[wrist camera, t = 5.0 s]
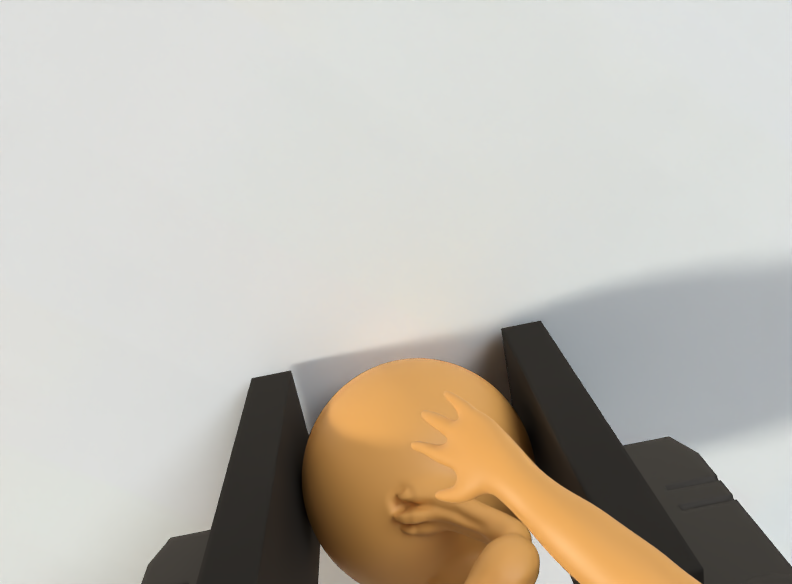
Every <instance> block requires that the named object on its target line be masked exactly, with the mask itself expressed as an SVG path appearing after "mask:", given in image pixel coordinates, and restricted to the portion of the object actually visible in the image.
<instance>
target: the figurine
mask: <svg viewBox="0 0 792 584" xmlns="http://www.w3.org/2000/svg"><path fill="white" fill-rule="evenodd" d="M302 491H303V499H304V504H305V509H306V512H307V516H308V519H309V522H310V524H311V527H312V529H313V531H314V533H315V535H316V537H317V539H318V541H319V543H320V544H321V546H322V547H323V549H324V550H325V552H326V553H327V554H328V556H329V557H330V558H331V559H332V560H333V562H334V563H335V564H336V565H337V566H338V567H339V568H340V569H341V570H342V571H344V572H345V573H346V574H347V575H348V576H350V577H351V578H352V579H354V580H355V581H357V582H358V583H360V584H535V582H536V580H537V577H538V574H539V566H540V560H539V554H538V551H537V549H536V548H535V546H534V545H533V544H532V539H531V534H530V532H531V533H532V534H533V535H534V536H535V538H536V539H537V540H538V541H539V542H540V543H541V545H542V546H543V547H544V548H545V549H546V550H547V551H548V552H549V554H550V555H551V556H552V557H553V558H554V559H555V560H556V561H557V562H558V563H559V564H560V565H561V566H562V567H563V568H564V569H565V570H566V571H567V572H568V573H569V574H570V575H571V576H572V577H574V578H575V579H576V580H577V581H578V582H579V583H580V584H702V583H700V582H699V581H697V580H696V579H695V578H693V577H692V576H691V575H689V574H688V573H687V572H685V571H684V570H683V569H681V568H680V567H679V566H678V565H676V564H675V563H674V562H673V561H672V560H670V559H669V558H668V557H667V556H666V555H664V554H663V553H662V552H660V551H659V550H658V549H656V548H655V547H654V546H652V545H651V544H649V543H648V542H647V541H645V540H644V539H642V538H641V537H639V536H638V535H637V534H635V533H634V532H632V531H631V530H629V529H628V528H626V527H625V526H624V525H622V524H621V523H619V522H618V521H617V520H615V519H614V518H612V517H611V516H610V515H608V514H607V513H605V512H604V511H602V510H601V509H600V508H598V507H596V506H595V505H593V504H592V503H590V502H588V501H587V500H585V499H583V498H581V497H579V496H578V495H576V494H574V493H572V492H571V491H569V490H567V489H566V488H564V487H563V486H561V485H560V484H558V483H557V482H555V481H554V480H553V479H551V478H550V477H549V476H547V475H546V474H545V473H544V472H543V471H542V470H540V469H539V468H538V467H537V466H536V465H535V459H534V454H533V449H532V446H531V442H530V439H529V437H528V434H527V432H526V429H525V427H524V425H523V423H522V421H521V419H520V418H519V416H518V414H517V413H516V411H515V410H514V408H513V407H512V406H511V404H510V403H509V402H508V401H507V399H506V398H505V397H504V396H503V395H502V394H501V393H500V392H499V391H498V390H497V389H496V388H495V387H494V386H492V385H491V384H490V383H489V382H487V381H486V380H485V379H483V378H482V377H480V376H479V375H477V374H475V373H473V372H471V371H470V370H467V369H465V368H463V367H461V366H458V365H455V364H452V363H449V362H445V361H440V360H435V359H425V358H412V359H402V360H396V361H391V362H388V363H384V364H381V365H378V366H376V367H373V368H371V369H369V370H367V371H365V372H363V373H361V374H360V375H358V376H357V377H355V378H354V379H352V380H351V381H349V382H348V383H347V384H346V385H344V386H343V387H342V388H341V389H340V390H339V391H338V392H337V393H336V394H335V395H334V396H333V397H332V398H331V399H330V401H329V402H328V403H327V404H326V406H325V407H324V409H323V410H322V412H321V413H320V415H319V416H318V418H317V420H316V422H315V424H314V426H313V428H312V430H311V433H310V435H309V438H308V441H307V445H306V448H305V453H304V458H303V466H302ZM528 529H529V530H528ZM529 531H530V532H529Z"/></svg>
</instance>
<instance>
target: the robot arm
mask: <svg viewBox="0 0 792 584" xmlns="http://www.w3.org/2000/svg"><path fill="white" fill-rule="evenodd" d="M501 331H502V337H503V344H504V351H505V358H506V364H507V371H508V378H509V385H510V391H511V398H512V405H513V408H514V410H515V411H516V413H517V414H518V416H519V418H520V419H521V421H522V423H523V425H524V427H525V429H526V432H527V434H528V437H529V439H530V442H531V446H532V449H533V454H534V459H535V465H536V466H537V467H538V468H539V469H540V470H542V471H543V472H544V473H545V474H546V475H547V476H549V477H550V478H551V479H553V480H554V481H555V482H557V483H558V484H560V485H561V486H563V487H564V488H566V489H567V490H569V491H571V492H572V493H574V494H576V495H578V496H579V497H581V498H583V499H585V500H587V501H588V502H590V503H592V504H593V505H595V506H596V507H598V508H600V509H601V510H602V511H604V512H605V513H607V514H608V515H610V516H611V517H612V518H614V519H615V520H617V521H618V522H619V523H621V524H622V525H624V526H625V527H626V528H628V529H629V530H631V531H632V532H634V533H635V534H637V535H638V536H639V537H641V538H642V539H644V540H645V541H647V542H648V543H649V544H651V545H652V546H654V547H655V548H656V549H658V550H659V551H660V552H662V553H663V554H664V555H666V556H667V557H668V558H669V559H670V560H672V561H673V562H674V563H675V564H676V565H678V566H679V567H680V568H681V569H683V570H684V571H685V572H687V573H688V574H689V575H691V576H692V577H693V578H695V579H696V580H697V581H699V582H700V583H702V584H792V566H791V565H790V564H789V563H788V562H787V560H786V559H785V558H784V557H783V555H782V554H781V553H780V552H779V551H778V549H777V548H776V547H775V546H774V545H773V543H772V542H771V541H770V540H769V538H768V537H767V536H766V535H765V534H764V532H763V531H762V530H761V529H760V528H759V526H758V525H757V524H756V523H755V521H754V520H753V519H752V518H751V517H750V515H749V514H748V513H747V512H746V511H745V509H744V508H743V507H742V506H741V504H740V503H739V502H738V501H737V500H734V499H733V495H732V493H731V492H730V491H729V490H728V489H727V487H726V486H725V485H724V484H723V483H722V481H721V480H720V481H718V478H717V475H716V474H715V473H714V472H713V470H712V469H711V468H710V467H709V466H708V464H707V463H706V462H705V461H704V459H703V458H702V457H701V456H700V455H699V453H697V452H695V451H694V450H692V449H690V448H688V447H687V446H685V445H683V444H681V443H679V442H678V441H676V440H674V439H672V438H671V437H664V438H659V439H654V440H649V441H644V442H639V443H634V444H629V445H624V446H623V445H622V444H621V442H620V441H619V439H618V438H617V436H616V435H615V433H614V432H613V430H612V429H611V427H610V426H609V424H608V423H607V421H606V420H605V418H604V416H603V415H602V413H601V412H600V410H599V409H598V407H597V406H596V404H595V403H594V401H593V400H592V398H591V397H590V395H589V394H588V392H587V391H586V389H585V388H584V386H583V385H582V383H581V381H580V380H579V378H578V377H577V375H576V374H575V372H574V371H573V369H572V368H571V366H570V365H569V363H568V362H567V360H566V359H565V357H564V356H563V354H562V353H561V351H560V350H559V348H558V346H557V345H556V343H555V342H554V340H553V339H552V337H551V336H550V334H549V333H548V331H547V330H546V328H545V327H544V325H543V324H542V322H541V321H537V322H532V323H527V324H522V325H517V326H512V327H507V328H502V329H501ZM308 438H309V435H308V432H307V428H306V424H305V421H304V417H303V413H302V410H301V406H300V402H299V398H298V395H297V391H296V387H295V384H294V380H293V376H292V373H291V371H286V372H281V373H276V374H271V375H266V376H261V377H256V378H252V379H251V383H250V387H249V390H248V394H247V398H246V401H245V405H244V409H243V412H242V416H241V420H240V424H239V427H238V431H237V435H236V438H235V442H234V446H233V449H232V453H231V457H230V461H229V464H228V468H227V472H226V475H225V479H224V483H223V486H222V490H221V494H220V498H219V501H218V505H217V509H216V512H215V516H214V520H213V523H212V527H211V530H208V531H203V532H198V533H193V534H188V535H183V536H178V537H172V538H170V539H169V540H168V542H167V543H166V544H165V545H164V546H163V548H162V549H161V550H160V551H159V552H158V554H157V555H156V556H155V557H154V558H153V560H152V561H151V562H150V563H149V564H148V567H147V570H146V572H145V575H144V578H143V580H142V583H141V584H318V575H319V555H320V543H319V541H318V539H317V537H316V535H315V533H314V531H313V529H312V527H311V524H310V522H309V519H308V516H307V512H306V509H305V504H304V499H303V491H302V466H303V458H304V453H305V448H306V445H307V441H308ZM570 576H571V575H570ZM571 579H572V581H573V584H580V583H579V582H578V581H577V580H576V579H575V578H574V577H572V576H571Z"/></svg>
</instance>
